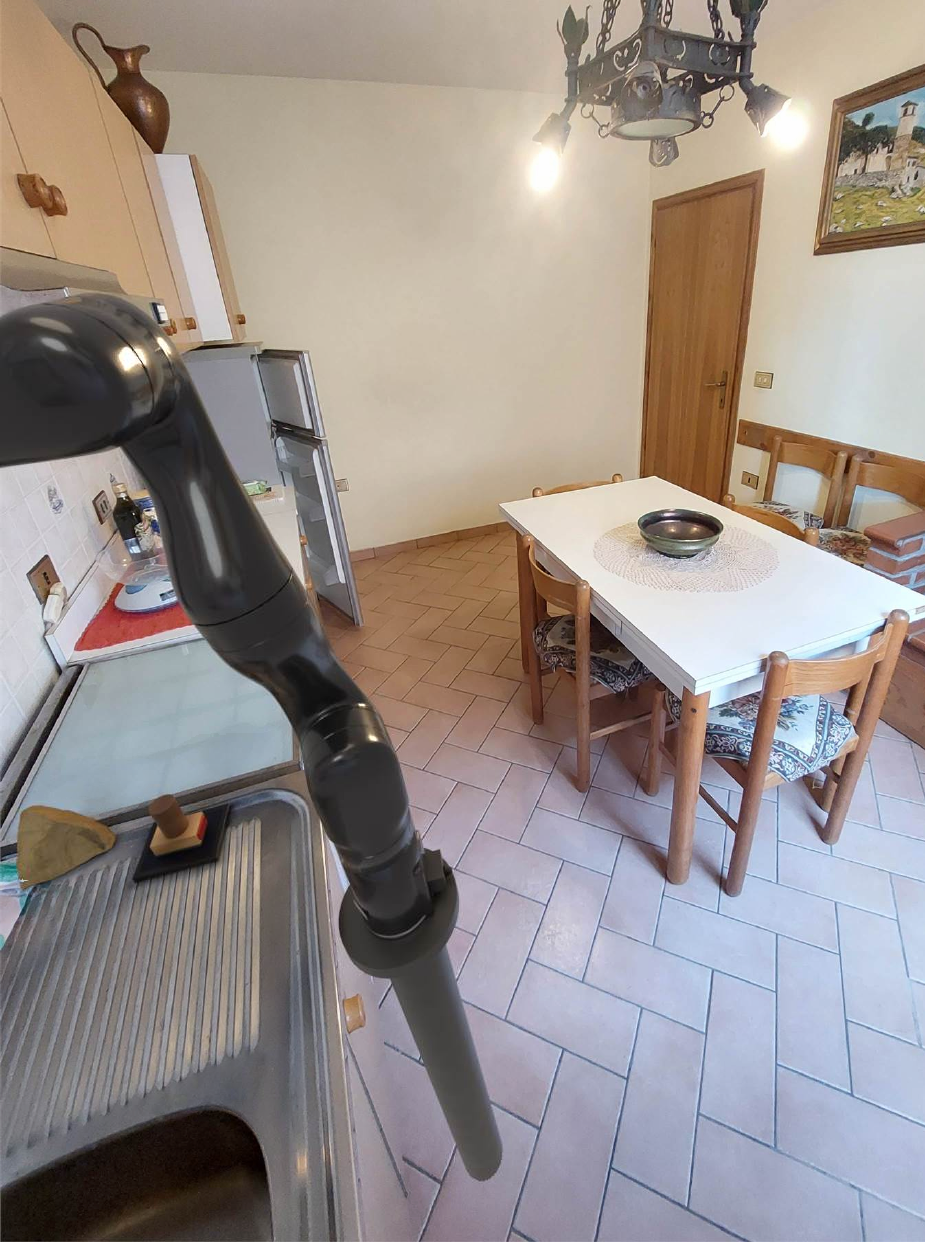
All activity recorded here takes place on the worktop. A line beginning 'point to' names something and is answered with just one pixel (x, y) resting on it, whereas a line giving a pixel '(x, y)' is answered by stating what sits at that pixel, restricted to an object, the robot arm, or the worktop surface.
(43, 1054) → the worktop surface
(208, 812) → the ink pad
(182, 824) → the stamp
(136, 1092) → the worktop surface
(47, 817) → the rock
